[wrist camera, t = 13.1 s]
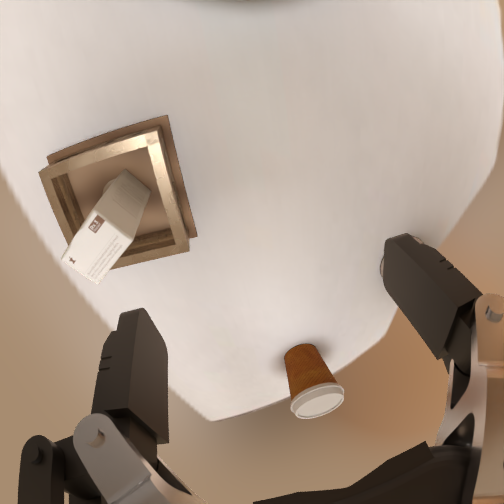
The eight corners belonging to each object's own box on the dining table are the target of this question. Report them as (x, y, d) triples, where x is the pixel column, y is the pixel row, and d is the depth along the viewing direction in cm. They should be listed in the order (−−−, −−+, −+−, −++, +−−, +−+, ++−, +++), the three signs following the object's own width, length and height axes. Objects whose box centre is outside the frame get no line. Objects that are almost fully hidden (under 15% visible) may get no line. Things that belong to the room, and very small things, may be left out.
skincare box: (122, 225, 34) (99, 290, 24) (94, 203, 31) (58, 262, 21) (154, 188, 32) (137, 244, 22) (124, 164, 30) (92, 210, 20)
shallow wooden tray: (189, 232, 36) (189, 251, 32) (92, 256, 35) (83, 276, 31) (161, 124, 28) (156, 130, 25) (53, 160, 27) (38, 172, 24)
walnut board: (197, 234, 37) (197, 236, 36) (90, 260, 36) (89, 263, 35) (167, 115, 28) (167, 115, 28) (48, 155, 27) (46, 157, 27)
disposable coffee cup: (332, 337, 53) (356, 389, 43) (311, 368, 58) (330, 416, 48) (286, 337, 50) (306, 394, 41) (269, 369, 55) (284, 422, 45)
